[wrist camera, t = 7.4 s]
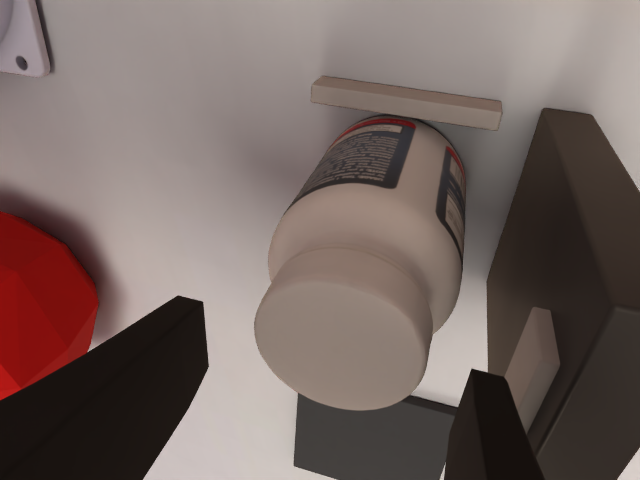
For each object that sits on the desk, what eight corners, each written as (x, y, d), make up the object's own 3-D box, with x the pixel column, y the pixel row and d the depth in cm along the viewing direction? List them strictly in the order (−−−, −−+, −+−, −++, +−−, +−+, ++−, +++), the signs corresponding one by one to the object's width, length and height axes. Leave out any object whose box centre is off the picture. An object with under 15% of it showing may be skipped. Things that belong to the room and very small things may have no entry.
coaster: (295, 458, 29) (293, 466, 29) (302, 366, 25) (298, 373, 24) (429, 499, 27) (429, 508, 27) (462, 409, 23) (461, 417, 23)
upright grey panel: (310, 244, 20) (197, 448, 12) (321, 75, 17) (167, 210, 8) (525, 290, 19) (559, 563, 11) (593, 114, 15) (727, 329, 7)
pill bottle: (300, 195, 19) (193, 350, 12) (369, 82, 16) (279, 200, 9) (411, 265, 20) (371, 458, 12) (499, 167, 17) (512, 347, 9)
